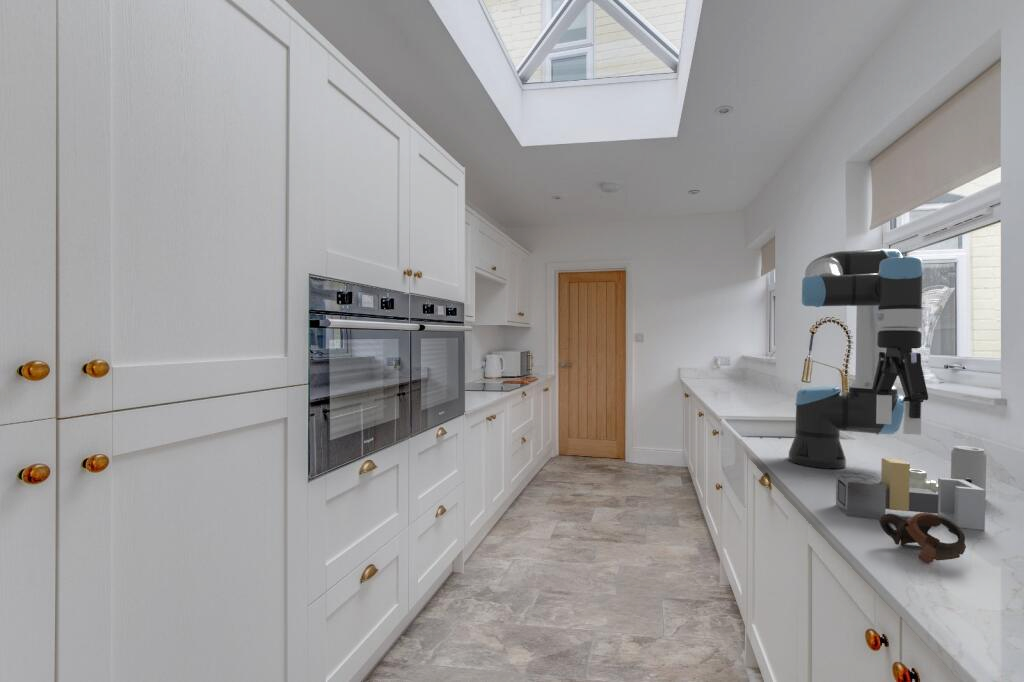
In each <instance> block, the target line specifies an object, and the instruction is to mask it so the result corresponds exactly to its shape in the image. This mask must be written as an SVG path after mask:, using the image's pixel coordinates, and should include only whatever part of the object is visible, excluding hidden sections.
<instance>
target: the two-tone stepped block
mask: <svg viewBox="0 0 1024 682" xmlns="http://www.w3.org/2000/svg"><path fill="white" fill-rule="evenodd" d="M910 469H911V464H910V463H909V462H907V461H905V460H903V459H901V458H887V457H881V470H880V471H881V474H880V479H881V480H880V481H881V482H882V483H884V484H885V485H886V508H885V510H890V511H902V512H915V513H931V514H935V515H937V514H938V496H939V495H938V493H937V492H936V493H935V492H933V491H931V490H929V489H920V488H909V484H910ZM838 500H840V501H841V502H842V503H843V504H844V505H845V500H846V485H845V484H844V483H843V482H839V498H838Z"/></svg>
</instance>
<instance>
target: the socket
mask: <svg viewBox="0 0 1024 682" xmlns="http://www.w3.org/2000/svg"><path fill="white" fill-rule="evenodd" d="M937 484H938V492H937V494H938V495H939V496H938V514H936V515H938V516H941V517H944V518H946V519H948V520H950V521H951V522H953V523H954V524H956V525H957V526H958V527H959V528H960V529H971V530H978V531H979V530H981V531H982V530H983V531H985V529H986V527H985V526H986V497H985V495H986V493H987V491H986V490H987V489H986V490H984V489H982V488H980V487H978V486H976V485H973V484H971V483H969V482H967V481H965V480H960V479H951V478H945V477H944V478H943V477H938V478H937ZM986 496H987V495H986Z"/></svg>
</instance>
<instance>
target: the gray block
mask: <svg viewBox="0 0 1024 682" xmlns="http://www.w3.org/2000/svg"><path fill="white" fill-rule="evenodd" d="M835 481H836V484H835V506H836V505H837V506H838V507H839V508H840V509H839V508H838V507H837V506H836V507H837V508H838V509H839V510H840V511H841V510H842V511H843V514H844V515H846V516H847V517H853V516H854V518H862V519H863V518H865V519H866V518H867V519H873V518H874V520H880V518H882V516H883V515H885V514H886V509H885V508H886V485H885V484H884V483H882V482H881V480H879V479H878V478H877V477H874V476H872V475H862V474H852V473H851V474H850V473H837V472H836V480H835ZM839 482H843V483H844V484H845V485H846V500H845V505H844V504H843V503H842V502H841V501H840V500H838V498H839ZM842 511H841V512H842Z"/></svg>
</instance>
